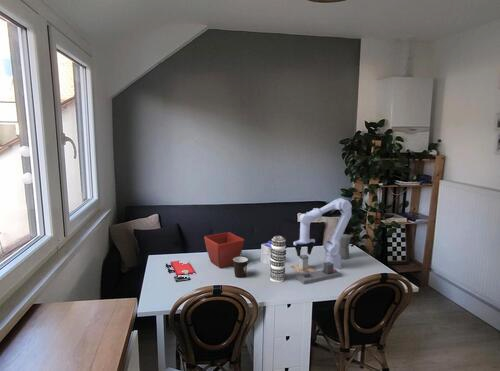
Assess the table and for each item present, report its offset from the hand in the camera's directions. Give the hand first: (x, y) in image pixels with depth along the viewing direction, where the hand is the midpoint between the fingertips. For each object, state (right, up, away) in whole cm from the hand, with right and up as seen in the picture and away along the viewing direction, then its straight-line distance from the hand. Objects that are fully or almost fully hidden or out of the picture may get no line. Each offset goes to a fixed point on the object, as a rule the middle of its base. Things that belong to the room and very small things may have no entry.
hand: (303, 255), depth 209 cm
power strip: (+7, -11, -12) cm, 18 cm away
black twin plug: (+13, -11, -9) cm, 19 cm away
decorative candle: (-17, -11, -13) cm, 25 cm away
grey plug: (0, -8, +1) cm, 8 cm away
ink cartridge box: (-21, -8, +10) cm, 25 cm away
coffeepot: (+31, -6, +23) cm, 40 cm away
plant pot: (-50, -7, +9) cm, 51 cm away
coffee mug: (-37, -10, -9) cm, 40 cm away
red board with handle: (-75, -10, -4) cm, 76 cm away
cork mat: (0, -9, +1) cm, 9 cm away
